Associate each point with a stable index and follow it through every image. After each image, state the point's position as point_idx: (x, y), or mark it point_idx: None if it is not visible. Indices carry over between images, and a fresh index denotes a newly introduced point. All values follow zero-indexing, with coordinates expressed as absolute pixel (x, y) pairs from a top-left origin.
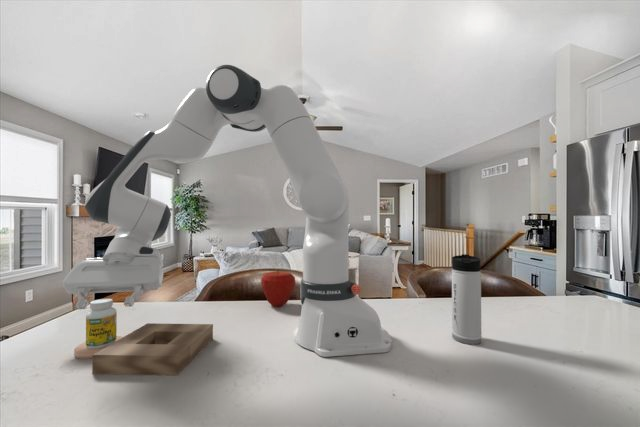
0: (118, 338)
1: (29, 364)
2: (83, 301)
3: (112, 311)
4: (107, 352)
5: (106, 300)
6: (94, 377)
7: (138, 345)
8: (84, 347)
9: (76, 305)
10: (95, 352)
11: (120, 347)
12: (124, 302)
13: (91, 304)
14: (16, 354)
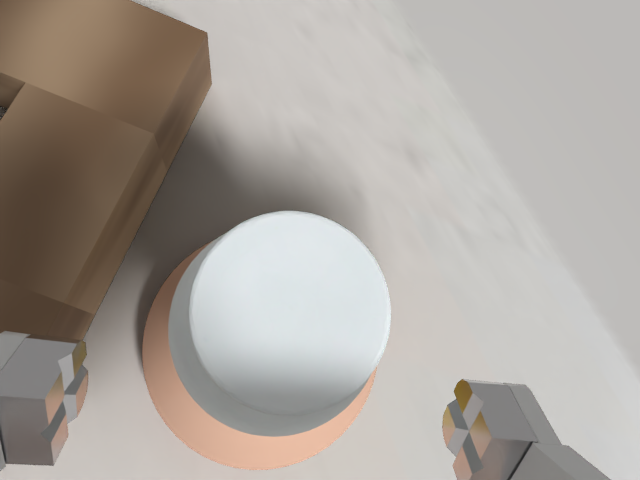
0: (192, 409)
1: (496, 265)
2: (492, 412)
3: (184, 283)
4: (146, 30)
5: (245, 301)
6: None
7: (4, 54)
8: None
9: (520, 386)
10: None
11: (96, 64)
12: (74, 343)
13: (353, 235)
14: (621, 404)
